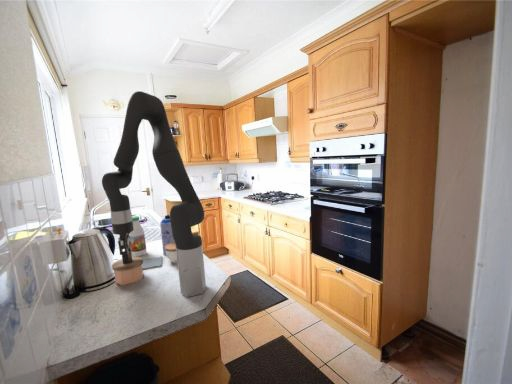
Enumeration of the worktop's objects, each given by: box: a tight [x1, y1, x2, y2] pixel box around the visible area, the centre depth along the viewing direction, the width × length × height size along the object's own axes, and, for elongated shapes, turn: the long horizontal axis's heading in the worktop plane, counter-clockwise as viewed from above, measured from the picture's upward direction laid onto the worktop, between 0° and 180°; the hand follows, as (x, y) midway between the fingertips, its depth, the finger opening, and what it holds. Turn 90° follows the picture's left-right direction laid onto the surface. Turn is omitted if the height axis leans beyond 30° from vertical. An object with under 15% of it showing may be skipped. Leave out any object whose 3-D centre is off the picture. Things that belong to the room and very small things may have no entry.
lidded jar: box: [165, 242, 178, 264], centre depth 123 cm, size 11×11×9 cm
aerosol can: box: [159, 214, 175, 257], centre depth 132 cm, size 8×8×20 cm
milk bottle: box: [130, 215, 147, 257], centre depth 132 cm, size 8×8×20 cm
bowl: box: [113, 264, 144, 286], centre depth 107 cm, size 10×10×6 cm
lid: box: [111, 252, 144, 271], centre depth 106 cm, size 12×12×5 cm
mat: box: [142, 255, 163, 271], centre depth 121 cm, size 11×11×1 cm
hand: (127, 259), depth 106 cm, fingers open, 6 cm apart
